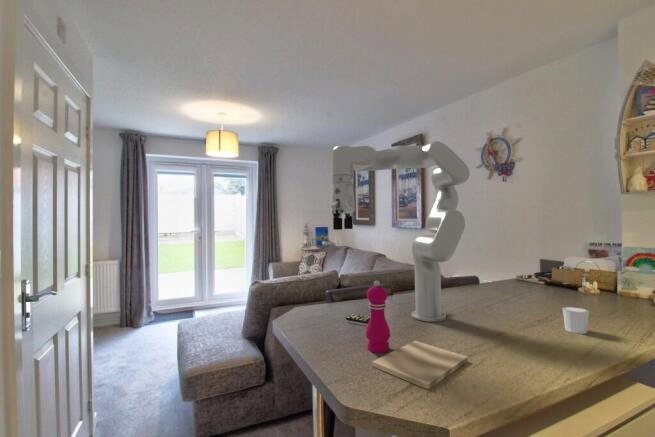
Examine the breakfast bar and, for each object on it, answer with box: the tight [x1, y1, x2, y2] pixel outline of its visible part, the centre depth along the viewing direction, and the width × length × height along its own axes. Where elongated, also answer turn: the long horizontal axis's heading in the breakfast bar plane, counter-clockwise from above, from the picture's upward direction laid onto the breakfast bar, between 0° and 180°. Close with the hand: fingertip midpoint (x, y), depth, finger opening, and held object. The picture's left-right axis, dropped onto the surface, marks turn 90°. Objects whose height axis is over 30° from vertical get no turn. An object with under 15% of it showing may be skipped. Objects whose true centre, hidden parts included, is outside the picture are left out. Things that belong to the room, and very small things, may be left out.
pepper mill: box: [365, 280, 391, 354], centre depth 93 cm, size 7×7×20 cm
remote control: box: [345, 313, 370, 327], centre depth 117 cm, size 6×13×2 cm, turn 57°
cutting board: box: [371, 340, 469, 390], centre depth 83 cm, size 20×16×1 cm
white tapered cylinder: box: [562, 306, 590, 335], centre depth 104 cm, size 7×7×7 cm
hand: (343, 229), depth 113 cm, fingers open, 9 cm apart
